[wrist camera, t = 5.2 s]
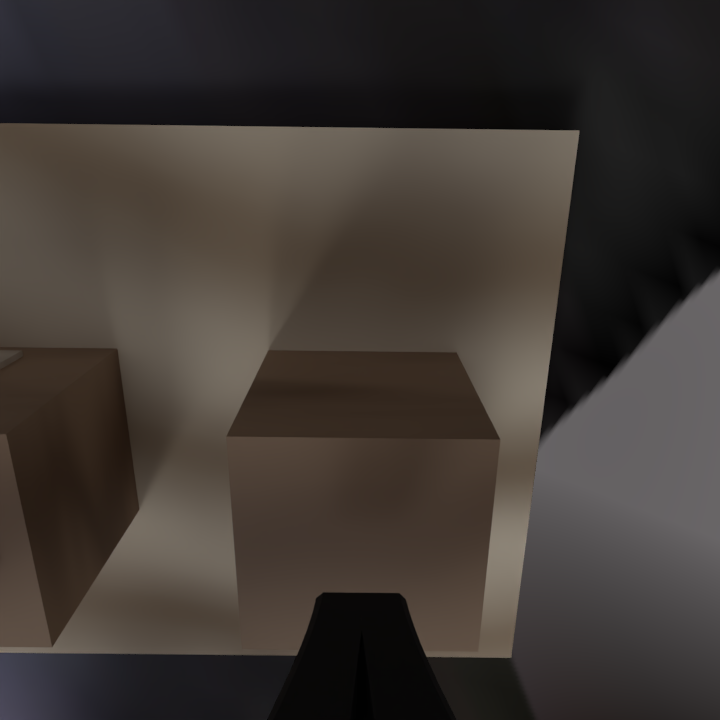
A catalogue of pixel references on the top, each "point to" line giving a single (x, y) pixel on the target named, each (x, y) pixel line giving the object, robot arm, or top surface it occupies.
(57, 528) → the one bar block
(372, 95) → the top surface
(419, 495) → the plain block
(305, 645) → the robot arm
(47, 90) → the top surface
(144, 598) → the board
